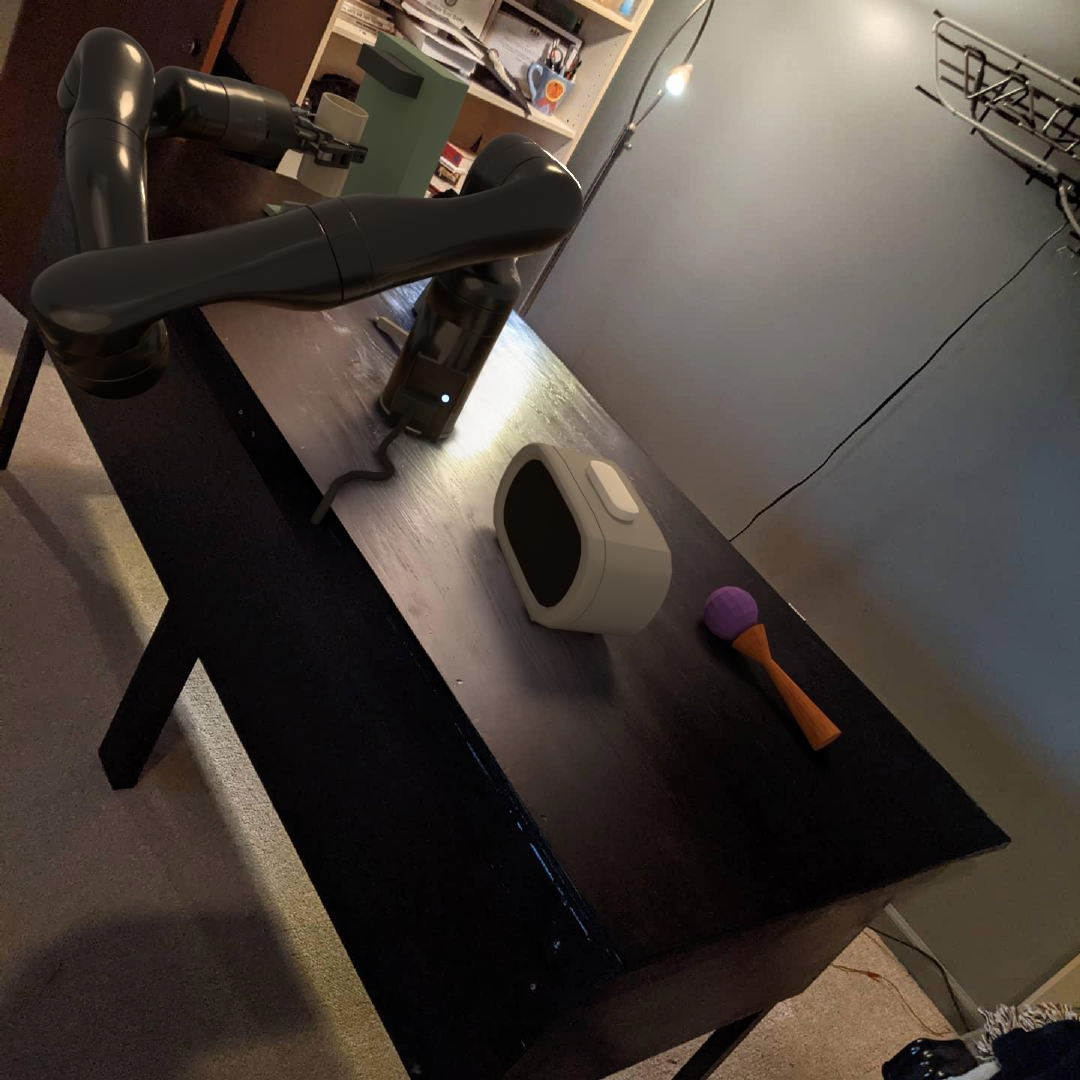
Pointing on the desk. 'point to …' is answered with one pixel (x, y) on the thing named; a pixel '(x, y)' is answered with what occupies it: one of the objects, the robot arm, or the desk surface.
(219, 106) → the robot arm
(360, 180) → the coffee maker
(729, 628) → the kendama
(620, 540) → the alarm clock
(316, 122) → the beige cylindrical cup
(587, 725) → the desk surface
